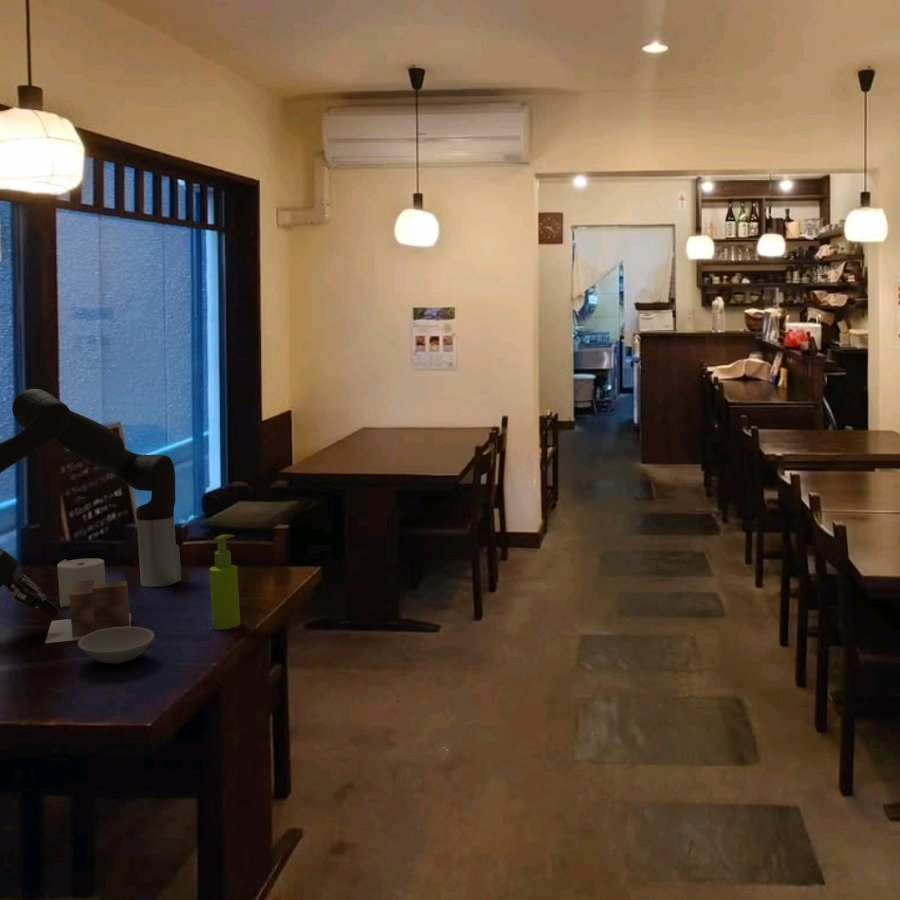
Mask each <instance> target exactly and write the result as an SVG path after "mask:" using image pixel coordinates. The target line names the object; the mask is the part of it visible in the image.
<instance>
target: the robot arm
mask: <svg viewBox="0 0 900 900" xmlns="http://www.w3.org/2000/svg"><path fill="white" fill-rule="evenodd" d="M11 407H12V408H11V410H12V414H13V417H14V419H15V421H16V422H17V423H18V424H19V425H20V426H21V427H22V428H23V429H22V430H21V431H20V432H18V433H17V434H15V435H13V436H12V437H10V438H8V439H6V440H4V441H1V442H0V474H2V472H4V471H6V470H7V469H9V468H10V467H11V466H14V465H15V464H17V463H18V462H20V461H22V460H24V459H25V458H27V457H28V456H29V455H31V454H33V453H35V452H36V451H39V449H41V448H42V447H44V446H46V445H48V444H49V443H51V442H52V441H56V442H58V443H59V444H61V446H63V447H64V448H66V449H67V450H68V451H70V452H71V453H73V455H75V456H77V457H79V458H80V459H82V460H84V461H85V462H87V463H90V464H91V465H94V466H96V467H98V468H99V469H102V470H103V471H106V472H108V473H111V474H112V475H114V476H116V477H117V478H118V479H120V480H121V481H122V482H124V483H126V485H128V486H129V487H131V488H132V489H134V490H137V491H141V492H142V491H144V492H151V495H150V496H151V497H150V500H149V501H147V502H146V503H144V504H141V505H139V506H137V508H136V511H135V513H136V514H135V516H136V529H137V543H138V558H139V572H140V574H139V575H140V578H139V579H140V585H141V586H142V587H147V588H159V587H168V586H172V585H174V583H175V584H177V583H179V582H182V572H181V568H182V567H181V558H180V557H181V556H180V555H181V554H180V553H181V552H180V546H179V544H176V529H175V527H176V526H175V505H176V470H175V465H174V462H173V460H172V458H171V457H169V456H168V455H165V454H142V453H141V454H139V453H135V452H133V451H130V450H129V449H126V447H125V443H124V440H123V439H122V437H121V436H120V434H118V433H117V432H115V431H114V430H112V429H111V428H108V427H107V426H105V425H103V424H102V423H99V422H97V421H96V420H94V419H91V418H89V417H87V416H85V415H83V414H80V413H78V412H75V411H73V410H71V409H70V407H68V405H67V404H65V403H64V402H63V401H61V400H60V399H58V398H57V397H55V396H54V395H52V394H50V393H49V392H47V391H45V390H43V389H39V388H31V389H30V388H29V389H26V390H25V389H24V390H23V391H21V392H20V393H18V394H17V396H16V397H15V398H14V399H13V402H12V406H11ZM20 564H21V563H20V561H19V560H18V559H17V558H15V557H14V556H12V555H11V554H10V553H8V552H7V551H6V550H5V549H3V548H2V547H1V546H0V588H2V586H4V587H6V588H7V589H8V592H9V593H10V595H12V596H13V598H14V599H15V601H17V602H20V603H22V604H25V605H26V606H29V607H31V608H32V609H40V610H41V611H42V612H44V613H45V614H46V615H47V616H48V617H50V618H52V619H53V618H55V617H56V616H57V614H58V613H59V612H60V608H59V607H58V606H57V605H56V604H54V603H53V602H52V601H50V600H49V599H47V596H46V595H45V594H46V593H45V591H43V590H42V589H41V588H40V587H39V585H37V584H36V582H34V580H33V579H32V578H31V577H29V576H27V575H25V574H21V573H18V572H17V570H18V569H19V567H20ZM178 581H179V582H178ZM176 582H177V583H176ZM171 584H172V585H171Z"/></svg>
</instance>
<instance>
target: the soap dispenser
mask: <svg viewBox="0 0 900 900" xmlns="http://www.w3.org/2000/svg"><path fill="white" fill-rule="evenodd" d="M235 536H236V535H235V534H220V535H218V536H216V537H214V542H217V550H216V551H214V566H212V567H210V568H209V584H210V585H209V586H210V599H211V601H210V602H211V615H212V617H211V618H212V619H211V620H212V627H213V626H214V627H217V628H230V627H236V626H238V625H240V626H241V615H240V614H241V612H240V611H241V610H240V596H239V595H240V593H239V577H238V574H239V573H238V566H237V565H235V564H234V565H233V564H232V554H231V550H229V549H227V540H228V539H230V538H235Z"/></svg>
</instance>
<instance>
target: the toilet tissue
mask: <svg viewBox="0 0 900 900" xmlns="http://www.w3.org/2000/svg"><path fill="white" fill-rule="evenodd" d="M105 569H106V568H105V560H104V559H101V558H77V559H72V560H67V558H65V559H63V560H61V561H60V562H58V564H57V576H58V577H57V579H58V592H59V605H60V608H64V607H70V598H69V595H70V591H71V587H72V583H73V582H74V581H86V580H94V582H95V584H99V583H107V582H106V571H105Z"/></svg>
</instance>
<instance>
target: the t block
mask: <svg viewBox="0 0 900 900" xmlns="http://www.w3.org/2000/svg"><path fill="white" fill-rule="evenodd" d="M128 591H129V588H128V580H124V581H111V582H106V583H99V584H95V582H94V580H86V581H74V582H73V583H72V587H71V591H70V595H69V598H70V606H69V609H70V619H71V625H72V637H79V636H85V635H87V634H89V633H92V632H95V630H96V629H106V628H113V627H125V626H130V618H129V613H130V606H129V605H130V604H129V603H130V602H129V592H128Z"/></svg>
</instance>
